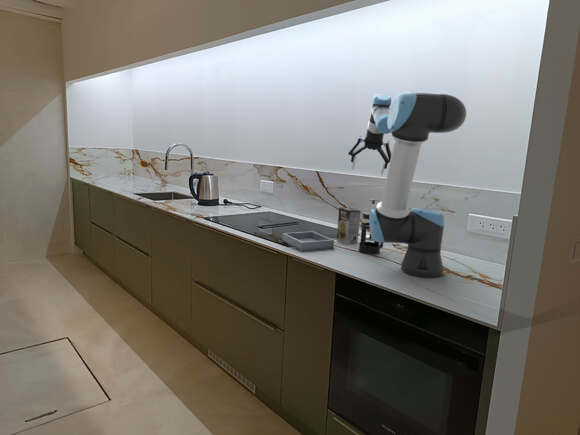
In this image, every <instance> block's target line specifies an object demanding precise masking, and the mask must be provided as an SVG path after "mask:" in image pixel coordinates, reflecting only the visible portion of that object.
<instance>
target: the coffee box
mask: <svg viewBox="0 0 580 435" xmlns="http://www.w3.org/2000/svg"><path fill="white" fill-rule="evenodd" d="M361 213H362V211H361V210H360V209H356V208H352V207H338V220H337V232H336V234H337V235H336V241H337V242H339V243H341V244H343V245H345V246H356V245H359V244H358V241H359V232H360V224H361V223H360V222H361V221H360V220H361Z"/></svg>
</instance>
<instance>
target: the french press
mask: <svg viewBox="0 0 580 435" xmlns="http://www.w3.org/2000/svg"><path fill="white" fill-rule="evenodd" d="M368 201H371V202H372V203H371V204H372V209H371V210H374V206H375V204H376V203H375V202H380V201H379V199H376V198H369V199H368ZM361 214H362V218H363V219H364V220H369V215H370V211H363V212H362V211H361ZM360 228H361V234H360V242H359V244H358V249H357V251H358V253H361V254H365V255H379V254H381V249H383V247H384V243H383V242H376V241H374V240H373V239H372V237H371V233H369V235H368V234H367V230H370V225H369V222H362V223H360Z"/></svg>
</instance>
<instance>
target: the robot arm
mask: <svg viewBox="0 0 580 435" xmlns="http://www.w3.org/2000/svg"><path fill="white" fill-rule="evenodd" d="M466 118H467V109H466V106H465V104H464V102H462V101H461V100H460V99H459V98H458V97H456V96H454V95H451V94H445V93H444V94H443V93H426V92H414V91H410V92H401V93H398V94H397V95H396V96H395V97H394V98H393V100H392V97H391V96H389V95H388V94H383V93H379V94H378V93H377V94H375V95H374V96H373V100H372V102H371V107H370V113H369V118H368V119H369V120H368V124H367V129H366V133H365V134H366V135H365V137H362V136H361V135H359V136H358V139H357V141H355V143H354V145H352V147H351V148H350V149H349V150H348V154H347V155H349V156H351V158H350V159H351V160H350V162H351V163H352V166H351V170H354V169H355V164H356V161H357V155H359V154H360V153H361V152H362V151H364V150H366V149H368V150H372V151H377V152H378V153H379V155H380V156H381V158H382V160H383V164H382V167H381V170H380V171H381V172H380V175H381V176H383V173H384V170H385V169H387V168H388V171H387V175H386V181H385V184H384V189H383V195H382V199H381V201H378V202H377V204H376V207H375V209H373V210H372V209H371V210H370V211H369V212H370V215H369V221H368V223H369V225H370V229H369V232H370V233H371V237H372V239H373V240H374V241H376V242H383V244H385V243H387V244H388V243H389V244H407V250H406V253H405V254H404V257H403V260H402V261H401V263H400V270H401V271H402V272H404V273H406V274H409V275H411V276H416V277H419V278H420V277H421V278H440V277H442V276H444V270H445V268H444V265H443V261H442V260H443V259H442V255H441V252H442V251H441V249H442V245H443V243H442V241H443V236H444V228H445V216H444V215H443V214H442V213H440V212H438V211H436V210H435V211H434V210H431V209H427V208H422V207H421V208H420V207H412V208H411V210H410V209H409V207H408V205H407V204H408V201H409V197H410V193H411V190H412V185H413V180H414V177H415V172H416V168H417V163H418V160H419V155H420V152H421V151H420V150H421V147H422V144H423V143H425V142H427V141H428V139H429V135H430V133H431V134H432V133H433V134H434V133H435V134H436V133H437V134H438V133H439V134H440V133H441V134H445V133H450V132H454V131H456V130H458V129H459V128H460V127H461V126H462V125H463V124H464V123H465V121H466ZM388 134H390V136H391V137H392V138H393V145H392V150H391V148H390V141H388V140H387V141H384V136H385V135H388ZM362 142H363V143H364V144H362ZM360 144H362V145H361V146H360ZM358 146H360V147H358ZM382 146H383V147H384V148H385V151H386V153H385V152H384V150H383V148H382ZM357 147H358V148H357ZM370 233H369V234H370ZM374 241H373V242H374Z"/></svg>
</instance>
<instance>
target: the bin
mask: <svg viewBox="0 0 580 435" xmlns="http://www.w3.org/2000/svg"><path fill="white" fill-rule="evenodd" d="M282 240H283V241H285V242H287V243H289V244H290V245H292V246H293V247H294V249H295V248H296V249H295V250H298V251H299V252H301V253H302V252H313V251H316V252H317V251H325V250H326V251H327V250H334V248H335V247H334V246H335V245H334V244H335V239H332V238H330V237H328V236H325V235H322V234H320V233H318V232H316V231H314V230H313V231H299V232H296V231H295V232H283V233H282ZM293 247H292V248H293Z"/></svg>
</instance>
